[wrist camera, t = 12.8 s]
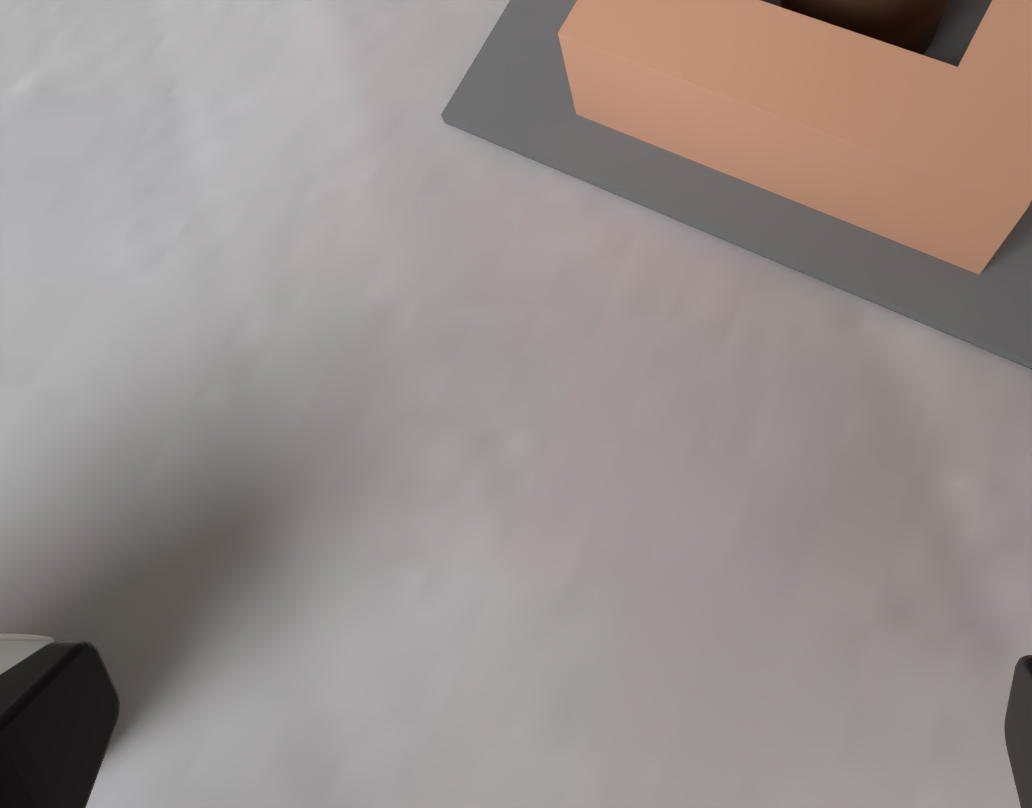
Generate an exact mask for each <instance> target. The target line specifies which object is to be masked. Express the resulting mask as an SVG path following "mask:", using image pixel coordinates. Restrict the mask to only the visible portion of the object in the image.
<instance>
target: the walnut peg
mask: <svg viewBox="0 0 1032 808" xmlns="http://www.w3.org/2000/svg"><path fill="white" fill-rule="evenodd" d="M947 2H948V0H781V5H780V7H782V8H785V9H788V10H791V11H794V12H797V13H800V14H802V15H805V16H808V17H811V18H814V19H817V20H820V21H823V22H826V23H829V24H832V25H835V26H838V27H841V28H844V29H847V30H850V31H853V32H856V33H859V34H862V35H865V36H868V37H871V38H874V39H877V40H879V41H882V42H885V43H888V44H891V45H894V46H897V47H900V48H903V49H906V50H909V51H912V52H915V53H918V54H921V55H923V54H924V53H925V51H926V50H927V49H928V47H929V46H930V44H931V42H932V40H933V38H934V36H935V34H936V31H937V28H938V26H939V23H940V20H941V18H942V15H943V13H944V10H945V7H946V5H947Z"/></svg>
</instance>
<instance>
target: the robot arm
mask: <svg viewBox="0 0 1032 808" xmlns="http://www.w3.org/2000/svg"><path fill="white" fill-rule="evenodd" d="M118 715H119V697H118V694H117V691H116V689H115V687H114V684H113V682H112V680H111V678H110V676H109V673H108V671H107V669H106V667H105V665H104V662H103V660H102V658H101V656H100V653H99V651H98V650H97V648H96V647H95V646H94V645H92V644H91V643H89V642H86V641H56V642H51V643H49V644H47V645H45V646H44V647H42V648H40V649H39V650H37V651H36V652H34V653H33V654H31V655H30V656H28V657H27V658H25V659H23V660H22V661H20V662H19V663H17V664H16V665H14V666H13V667H11V668H9V669H8V670H6V671H5V672H3V673H2V674H0V808H86V805H87V802H88V799H89V797H90V794H91V791H92V789H93V786H94V783H95V780H96V778H97V775H98V772H99V770H100V767H101V764H102V761H103V759H104V756H105V753H106V750H107V748H108V745H109V742H110V740H111V737H112V734H113V731H114V729H115V726H116V723H117V720H118ZM1005 740H1006V746H1007V751H1008V755H1009V759H1010V763H1011V767H1012V772H1013V776H1014V780H1015V784H1016V788H1017V792H1018V796H1019V801H1020V805H1021V808H1032V655H1027V656H1024V657H1022V658H1020V659H1019V660H1018V662H1017V664H1016V666H1015V670H1014V675H1013V681H1012V686H1011V691H1010V696H1009V701H1008V706H1007V712H1006V717H1005Z"/></svg>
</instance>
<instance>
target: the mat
mask: <svg viewBox="0 0 1032 808" xmlns="http://www.w3.org/2000/svg"><path fill="white" fill-rule="evenodd" d="M576 1H577V0H510V2H509V3H508V5H507V7H506V8H505V10H504V12H503V13H502V15H501V17H500V18H499V20H498V22H497V23H496V25H495V27H494V28H493V30H492V32H491V33H490V35H489V37H488V38H487V40H486V42H485V43H484V45H483V46H482V48H481V50H480V51H479V53H478V55H477V56H476V58H475V60H474V61H473V63H472V65H471V66H470V68H469V70H468V71H467V73H466V75H465V76H464V78H463V80H462V81H461V83H460V85H459V86H458V88H457V89H456V91H455V93H454V94H453V96H452V98H451V99H450V101H449V103H448V104H447V106H446V108H445V109H444V111H443V113H442V114H441V115H442V117H443V120H444V122H445V123H447V124H450V125H452V126H454V127H457V128H459V129H462V130H464V131H466V132H469V133H471V134H473V135H476V136H478V137H481V138H483V139H485V140H488V141H490V142H493V143H495V144H497V145H500V146H502V147H504V148H507V149H509V150H512V151H514V152H516V153H519V154H521V155H524V156H526V157H528V158H531V159H533V160H535V161H538V162H540V163H543V164H545V165H547V166H550V167H552V168H554V169H557V170H559V171H562V172H564V173H566V174H569V175H571V176H574V177H576V178H578V179H581V180H583V181H585V182H588V183H590V184H593V185H595V186H597V187H600V188H602V189H605V190H607V191H609V192H612V193H614V194H616V195H619V196H621V197H624V198H626V199H628V200H631V201H633V202H635V203H638V204H640V205H643V206H645V207H647V208H650V209H652V210H655V211H657V212H659V213H662V214H664V215H666V216H669V217H671V218H674V219H676V220H678V221H681V222H683V223H685V224H688V225H690V226H693V227H695V228H697V229H700V230H702V231H705V232H707V233H709V234H712V235H714V236H716V237H719V238H721V239H724V240H726V241H728V242H731V243H733V244H736V245H738V246H740V247H743V248H745V249H747V250H750V251H752V252H755V253H757V254H759V255H762V256H764V257H766V258H769V259H771V260H774V261H776V262H778V263H781V264H783V265H786V266H788V267H790V268H793V269H795V270H797V271H800V272H802V273H805V274H807V275H809V276H812V277H814V278H817V279H819V280H821V281H824V282H826V283H828V284H831V285H833V286H836V287H838V288H840V289H843V290H845V291H847V292H850V293H852V294H855V295H857V296H859V297H862V298H864V299H867V300H869V301H871V302H874V303H876V304H878V305H881V306H883V307H886V308H888V309H890V310H893V311H895V312H897V313H900V314H902V315H905V316H907V317H909V318H912V319H914V320H917V321H919V322H921V323H924V324H926V325H928V326H931V327H933V328H936V329H938V330H940V331H943V332H945V333H948V334H950V335H952V336H955V337H957V338H959V339H962V340H964V341H967V342H969V343H971V344H974V345H976V346H978V347H981V348H983V349H986V350H988V351H990V352H993V353H995V354H998V355H1000V356H1002V357H1005V358H1007V359H1009V360H1012V361H1014V362H1017V363H1019V364H1021V365H1024V366H1026V367H1028V368H1031V369H1032V200H1031V202H1030V204H1029V206H1028V208H1027V210H1026V211H1025V212H1024V214H1023V215H1022V217H1021V218H1020V219H1019V221H1018V222H1017V223H1016V225H1015V226H1014V228H1013V229H1012V230H1011V232H1010V233H1009V235H1008V236H1007V237H1006V239H1005V240H1004V241H1003V243H1002V244H1001V246H1000V247H999V248H998V250H997V251H996V252H995V254H994V255H993V257H992V258H991V259H990V261H989V262H988V263H987V265H986V266H985V268H984V269H983V270H982V272H981V273H980V274H976V273H974V272H971V271H969V270H966V269H964V268H961V267H959V266H956V265H954V264H951V263H949V262H946V261H944V260H941V259H938V258H936V257H933V256H931V255H928V254H926V253H923V252H921V251H918V250H916V249H913V248H911V247H908V246H906V245H903V244H901V243H898V242H896V241H893V240H891V239H888V238H886V237H883V236H881V235H878V234H876V233H873V232H871V231H868V230H866V229H863V228H861V227H858V226H856V225H853V224H851V223H848V222H846V221H843V220H841V219H838V218H835V217H833V216H830V215H828V214H825V213H823V212H820V211H818V210H815V209H813V208H810V207H808V206H805V205H803V204H800V203H798V202H795V201H793V200H790V199H788V198H785V197H783V196H780V195H778V194H775V193H773V192H770V191H768V190H765V189H763V188H760V187H758V186H755V185H753V184H750V183H748V182H745V181H743V180H740V179H738V178H735V177H732V176H730V175H727V174H725V173H722V172H720V171H717V170H715V169H712V168H710V167H707V166H705V165H702V164H700V163H697V162H695V161H692V160H690V159H687V158H685V157H682V156H680V155H677V154H675V153H672V152H670V151H667V150H665V149H662V148H660V147H657V146H655V145H652V144H650V143H647V142H645V141H642V140H640V139H637V138H635V137H632V136H630V135H627V134H624V133H622V132H619V131H617V130H614V129H612V128H609V127H607V126H604V125H602V124H599V123H597V122H594V121H592V120H589V119H587V118H584V117H582V116H579V115H577V114H576V111H575V107H574V103H573V98H572V94H571V89H570V85H569V80H568V76H567V72H566V67H565V63H564V58H563V54H562V49H561V45H560V41H559V36H558V32H559V30H560V29H561V27H562V25H563V23H564V22H565V20H566V18H567V17H568V15H569V13H570V12H571V10H572V8H573V7H574V5H575V3H576ZM761 1H764V2H767V3H770V4H773V5H776V6H779V7H780V5H781V0H761ZM991 2H992V0H948V2H947V5H946V7H945V10H944V13H943V15H942V18H941V20H940V23H939V26H938V28H937V31H936V34H935V36H934V38H933V40H932V42H931V44H930V46H929V47H928V49H927V50H926V51H925V53H924V54H923V55H924V56H927V57H930V58H933V59H936V60H939V61H942V62H945V63H948V64H951V65H954V66H956V67H958V66H959V64H960V62H961V60H962V58H963V56H964V54H965V52H966V50H967V48H968V46H969V44H970V42H971V40H972V38H973V36H974V35H975V33H976V31H977V29H978V27H979V25H980V23H981V21H982V19H983V17H984V15H985V13H986V11H987V9H988V7H989V5H990V4H991Z"/></svg>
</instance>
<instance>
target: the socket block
mask: <svg viewBox="0 0 1032 808" xmlns="http://www.w3.org/2000/svg"><path fill="white" fill-rule="evenodd" d="M558 36H559V41H560V45H561V49H562V54H563V58H564V63H565V67H566V72H567V76H568V80H569V85H570V89H571V94H572V98H573V103H574V107H575V111H576V114H577V115H579V116H582V117H584V118H587V119H589V120H592V121H594V122H597V123H599V124H602V125H604V126H607V127H609V128H612V129H614V130H617V131H619V132H622V133H624V134H627V135H630V136H632V137H635V138H637V139H640V140H642V141H645V142H647V143H650V144H652V145H655V146H657V147H660V148H662V149H665V150H667V151H670V152H672V153H675V154H677V155H680V156H682V157H685V158H687V159H690V160H692V161H695V162H697V163H700V164H702V165H705V166H707V167H710V168H712V169H715V170H717V171H720V172H722V173H725V174H727V175H730V176H732V177H735V178H738V179H740V180H743V181H745V182H748V183H750V184H753V185H755V186H758V187H760V188H763V189H765V190H768V191H770V192H773V193H775V194H778V195H780V196H783V197H785V198H788V199H790V200H793V201H795V202H798V203H800V204H803V205H805V206H808V207H810V208H813V209H815V210H818V211H820V212H823V213H825V214H828V215H830V216H833V217H835V218H838V219H841V220H843V221H846V222H848V223H851V224H853V225H856V226H858V227H861V228H863V229H866V230H868V231H871V232H873V233H876V234H878V235H881V236H883V237H886V238H888V239H891V240H893V241H896V242H898V243H901V244H903V245H906V246H908V247H911V248H913V249H916V250H918V251H921V252H923V253H926V254H928V255H931V256H933V257H936V258H938V259H941V260H944V261H946V262H949V263H951V264H954V265H956V266H959V267H961V268H964V269H966V270H969V271H971V272H974V273H976V274H980V273H981V272H982V270H983V269H984V268H985V266H986V265H987V263H988V262H989V261H990V259H991V258H992V257H993V255H994V254H995V252H996V251H997V250H998V248H999V247H1000V246H1001V244H1002V243H1003V241H1004V240H1005V239H1006V237H1007V236H1008V235H1009V233H1010V232H1011V230H1012V229H1013V228H1014V226H1015V225H1016V223H1017V222H1018V221H1019V219H1020V218H1021V217H1022V215H1023V214H1024V212H1025V211H1026V210H1027V208H1028V206H1029V204H1030V202H1031V200H1032V0H992V2H991V4H990V5H989V7H988V9H987V11H986V13H985V15H984V17H983V19H982V21H981V23H980V25H979V27H978V29H977V31H976V33H975V35H974V36H973V38H972V40H971V42H970V44H969V46H968V48H967V50H966V52H965V54H964V56H963V58H962V60H961V62H960V64H959V66H958V67H956V66H954V65H951V64H948V63H945V62H942V61H939V60H936V59H933V58H930V57H927V56H924V55H921V54H918V53H915V52H912V51H909V50H906V49H903V48H900V47H897V46H894V45H891V44H888V43H885V42H882V41H879V40H877V39H874V38H871V37H868V36H865V35H862V34H859V33H856V32H853V31H850V30H847V29H844V28H841V27H838V26H835V25H832V24H829V23H826V22H823V21H820V20H817V19H814V18H811V17H808V16H805V15H802V14H800V13H797V12H794V11H791V10H788V9H785V8H782V7H779V6H776V5H773V4H770V3H767V2H764V1H761V0H577V1H576V3H575V5H574V7H573V8H572V10H571V12H570V13H569V15H568V17H567V18H566V20H565V22H564V23H563V25H562V27H561V29H560V30H559V32H558Z"/></svg>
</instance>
